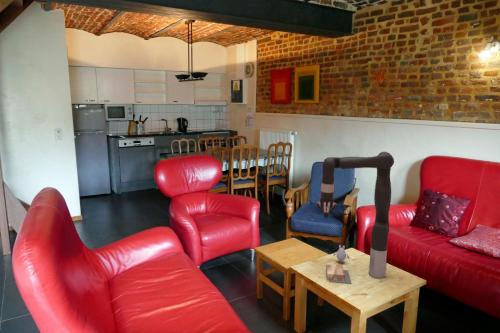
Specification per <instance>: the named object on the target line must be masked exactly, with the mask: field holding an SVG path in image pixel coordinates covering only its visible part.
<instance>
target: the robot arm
mask: <svg viewBox="0 0 500 333" xmlns="http://www.w3.org/2000/svg"><path fill="white" fill-rule="evenodd" d="M394 163H395V159H394V157H393V156H392V154H391V153H390V152H388V151H381V152H379V153H378V154H377V155H375V156H343V157H338V156H337V157H336V156H333V157H331V156H330V157H327V158H325V159H324V160H323V162H322V178H321V187H320V199H319V201H317V202H316V203H315V204H316V206H317V207H318V209H319V210H320V211H321V212H323V218H324V219H327V218H329V214H330V213H331V212H333V211H334V209H335V208H336V207H337V206H338V204H337V202H335V200H334V194H335V192H334V191H335V185H334V184H335V169H342V170H351V169H366V168H367V169H368V168H369V169H376V178H375V185H374V195H373V196H374V197H373V198H374V201H373V202H374V207H375V208H374V209H375V218H374V224H373V227H372V228H371V234H370V235H371V237H370V252H369V262H368V263H369V265H368V275H369V276H370V277H372V278H374V279H375V278H376V279H383V278H386V274H387V265H388V264H387V253H388V240H389V238H388V237H389V232H390V218H389V216H390V209H391V208H390V207H391V202H392V182H391V169H392V167H393V165H394Z"/></svg>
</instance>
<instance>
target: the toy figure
mask: <svg viewBox="0 0 500 333" xmlns="http://www.w3.org/2000/svg"><path fill="white" fill-rule="evenodd" d="M338 245H339V246H338V248H339V249H338V250H337V251H336V252H334V253H333V254H332V256H336V259H337V262H338V263H341V264H344V263H345V261H344V260H346V258H347V259H350V255H348V254H347V253H346V251H345V248H346V247H345V245H341V244H338Z"/></svg>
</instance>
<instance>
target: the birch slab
mask: <svg viewBox="0 0 500 333" xmlns="http://www.w3.org/2000/svg"><path fill="white" fill-rule="evenodd" d="M344 270H345V269H344V266H343V265H338V264H326V265H325V272H326V273H325V275H326V279H327V280H328V281H329V280H340V281H345V273H344Z"/></svg>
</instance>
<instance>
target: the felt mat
mask: <svg viewBox="0 0 500 333" xmlns="http://www.w3.org/2000/svg"><path fill="white" fill-rule="evenodd" d="M344 273H345V281H340V280H329V279H328V283H334V284H335V283H337V284H347V285H348V284H349V285H352V280H351V276H350V273H349V270H348V269H344Z"/></svg>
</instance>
